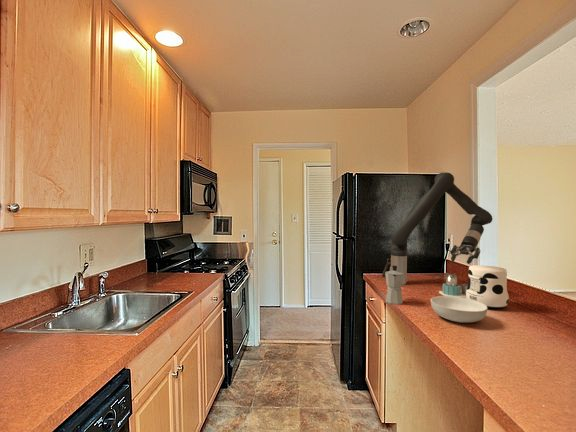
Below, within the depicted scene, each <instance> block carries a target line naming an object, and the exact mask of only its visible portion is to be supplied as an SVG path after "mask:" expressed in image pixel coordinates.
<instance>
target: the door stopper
mask: <svg viewBox="0 0 576 432" xmlns="http://www.w3.org/2000/svg"><path fill="white" fill-rule="evenodd" d="M388 266H390V267H391V258H387V259H386V265H385V267H384V269H383V272H382V274H381V278H386V275H385V272H388V271H387V270H388Z"/></svg>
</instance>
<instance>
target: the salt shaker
mask: <svg viewBox="0 0 576 432" xmlns="http://www.w3.org/2000/svg"><path fill="white" fill-rule="evenodd" d="M457 275H458V274H456V273H446V276H445V277H446V279H445V283H446V286H452V287H457V285H458V276H457Z"/></svg>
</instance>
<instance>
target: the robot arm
mask: <svg viewBox="0 0 576 432" xmlns="http://www.w3.org/2000/svg"><path fill="white" fill-rule="evenodd" d="M445 193H446V194H448V195H449V196H450V197H451V198H452V200H454V201H455V202H456V203H457V205H458V206H459V207H460V208H461V209H462V210H463V211H465V213H466V214H468V215H470V216H471V215H473V216H472V218H471V222H470V227H469V229H468V231H467V232H466V233H465V235H464V237H463V238H462V241H461V243H460V245H459V246H457V245H456V244H455V245H453V247H452V248H451V250H450V251H449V253H450V255H451V257H450V260H451V262H453V263H454V262H455V260H456V258H457V257H458V256H461V255H465V256H468V255H469V256H468V258H467V260H466V263H467V265H470V264H471V263H472V262H473V260H474V259H479V256H480V254H481V249H480V247H478V244H479V243H480V240H481V238H482V236H483V234H484V231H485V227H484V226H486V225H488V224H491V223H492V222H493V215H492V214H491V213H490V212H489V211H488V210H487V209H485V208H483V207H481V206H479V204H477V203H476V202H475V201H474V200H473V199H472V198H471V197H470V196H468V194H466V193H465V192H463V191H462V190H461V189H460V188H459V187H457V185H456V184H455V176H454V175H453V174H452V173H451V172H445V171H444V172H440V173H437V174H436V175H435V177H434V184H433V185H432V187H431V188H430V189H429V190H428V191H427V192H426V193H425V194H424V195H423V196H421V197H420V198H419V199H418V201H417V202H416V203H415V204H414V205H413V207H412V208H411V209H410V210H409V212H408V214H407V215H406V217H405V219H404V220H403V221H402V223H401V224H400V225H399V226H398V227H397V229H395V230H394V231H393V232H392V233H391V235H390V239H391V250H390V259H391V260H390V262H391V266H390V267H389V271H392V270H393V267H392V266H397V271H399V272H402V273H404V277H403V284H402V286H403V285H406V284H407V277H408V276H407V275H408V274H407V273H408V272H407V270H408V269H407V268H408V264H407V263H408V240H409V237H410V235H411V234H412V233H413V231H414V230H415V229H416V228H417V227H418V225H419V224H421V223H422V221H423V220H425V218H426V217H427V216H428V215H429V213H430V212H431V211H432V210H433V208H434V207H435V206H436V204H437V203H438V201H439V200H440V199H441V198H442V197H443V195H444V194H445ZM473 253H474V254H473Z"/></svg>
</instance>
